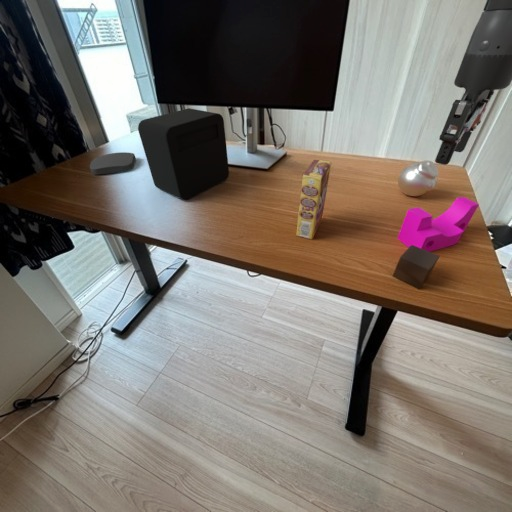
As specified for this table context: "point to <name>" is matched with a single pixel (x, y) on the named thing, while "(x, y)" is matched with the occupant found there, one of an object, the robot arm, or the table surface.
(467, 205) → the magenta curved bracket
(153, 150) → the air purifier
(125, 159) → the media streaming box
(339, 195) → the table surface
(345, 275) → the table surface
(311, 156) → the table surface
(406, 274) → the walnut cube
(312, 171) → the candy box
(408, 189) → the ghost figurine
